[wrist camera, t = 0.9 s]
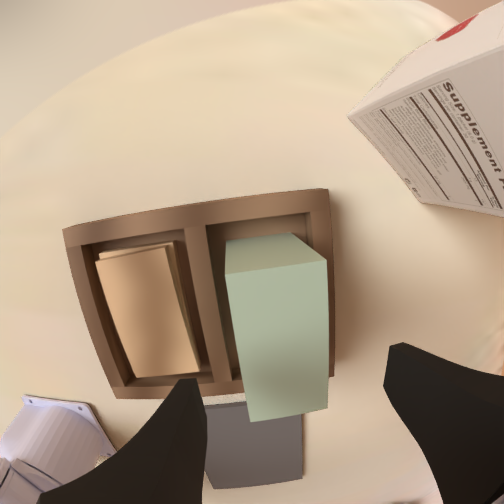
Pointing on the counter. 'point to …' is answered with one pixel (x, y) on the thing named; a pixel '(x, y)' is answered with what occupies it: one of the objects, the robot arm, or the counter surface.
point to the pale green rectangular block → (279, 323)
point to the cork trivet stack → (150, 308)
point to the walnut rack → (194, 277)
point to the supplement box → (445, 116)
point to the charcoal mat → (251, 448)
